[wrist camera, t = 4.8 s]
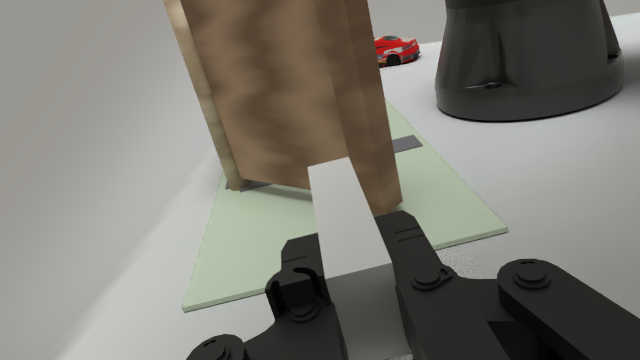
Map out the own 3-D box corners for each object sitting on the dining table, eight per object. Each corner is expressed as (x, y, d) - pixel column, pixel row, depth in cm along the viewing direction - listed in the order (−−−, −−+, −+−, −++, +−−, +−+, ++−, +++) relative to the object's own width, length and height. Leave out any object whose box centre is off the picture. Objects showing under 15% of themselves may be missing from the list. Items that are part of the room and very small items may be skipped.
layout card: (386, 100, 48) (385, 97, 48) (507, 231, 22) (507, 225, 22) (234, 139, 48) (233, 136, 48) (183, 312, 23) (181, 306, 23)
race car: (329, 77, 67) (322, 51, 66) (342, 68, 71) (336, 43, 70) (414, 65, 61) (409, 36, 59) (423, 55, 65) (419, 28, 64)
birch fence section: (259, 132, 48) (211, -24, 41) (251, 187, 34) (179, -28, 28) (242, 136, 48) (192, -19, 41) (229, 193, 35) (152, -21, 28)
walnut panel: (240, 188, 34) (169, -19, 28) (257, 177, 35) (192, -24, 29) (386, 216, 25) (328, -76, 19) (402, 201, 26) (352, -79, 20)
